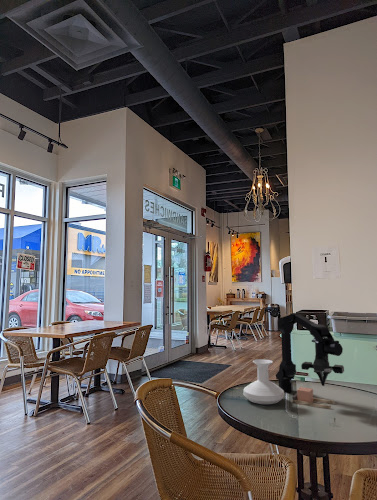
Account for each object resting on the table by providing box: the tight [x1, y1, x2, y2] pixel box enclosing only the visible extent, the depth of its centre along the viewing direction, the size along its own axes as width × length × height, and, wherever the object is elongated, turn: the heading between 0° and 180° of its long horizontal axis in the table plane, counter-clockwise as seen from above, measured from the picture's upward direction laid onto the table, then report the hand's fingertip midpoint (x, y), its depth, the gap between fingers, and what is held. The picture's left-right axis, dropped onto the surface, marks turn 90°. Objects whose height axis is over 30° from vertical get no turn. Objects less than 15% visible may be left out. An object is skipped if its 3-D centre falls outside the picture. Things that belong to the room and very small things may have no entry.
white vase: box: [242, 358, 285, 405], centre depth 183 cm, size 20×20×19 cm
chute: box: [291, 392, 335, 410], centre depth 177 cm, size 18×9×3 cm, turn 57°
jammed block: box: [296, 386, 314, 403], centre depth 179 cm, size 6×6×6 cm
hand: (323, 385), depth 174 cm, fingers closed
